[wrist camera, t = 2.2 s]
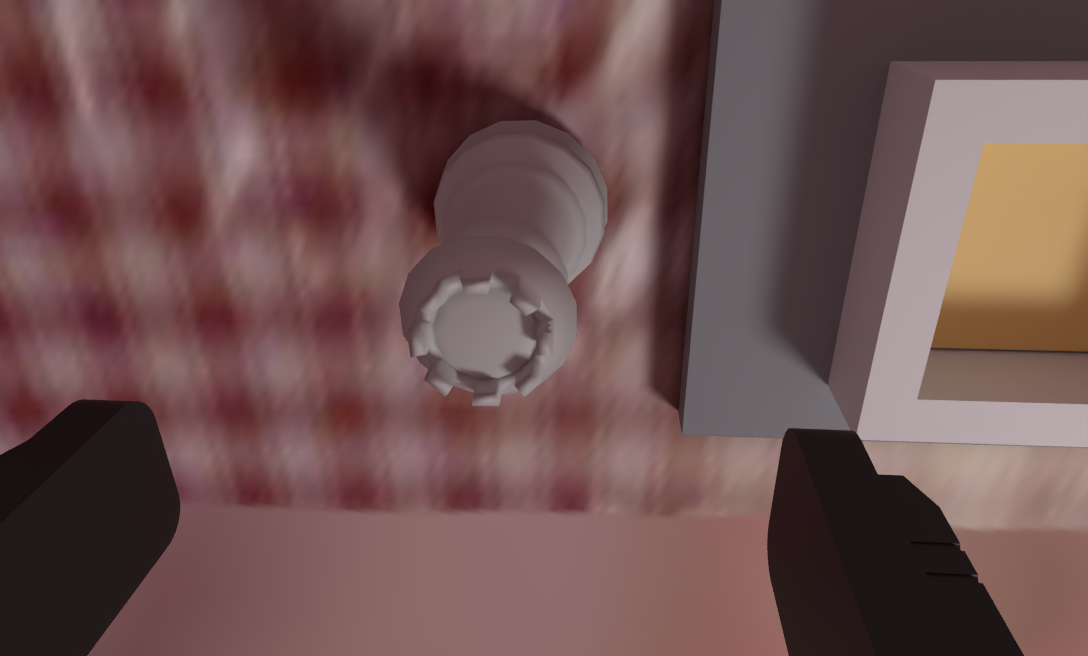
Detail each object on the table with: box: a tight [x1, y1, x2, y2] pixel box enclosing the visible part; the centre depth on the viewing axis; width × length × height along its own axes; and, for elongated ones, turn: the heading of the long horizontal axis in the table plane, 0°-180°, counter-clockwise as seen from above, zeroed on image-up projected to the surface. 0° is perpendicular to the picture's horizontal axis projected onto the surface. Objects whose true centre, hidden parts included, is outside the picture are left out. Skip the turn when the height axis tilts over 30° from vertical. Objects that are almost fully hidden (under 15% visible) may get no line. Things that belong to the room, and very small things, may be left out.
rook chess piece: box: [399, 120, 607, 406], centre depth 16 cm, size 4×4×8 cm
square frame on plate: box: [678, 0, 1088, 448], centre depth 18 cm, size 16×12×4 cm
